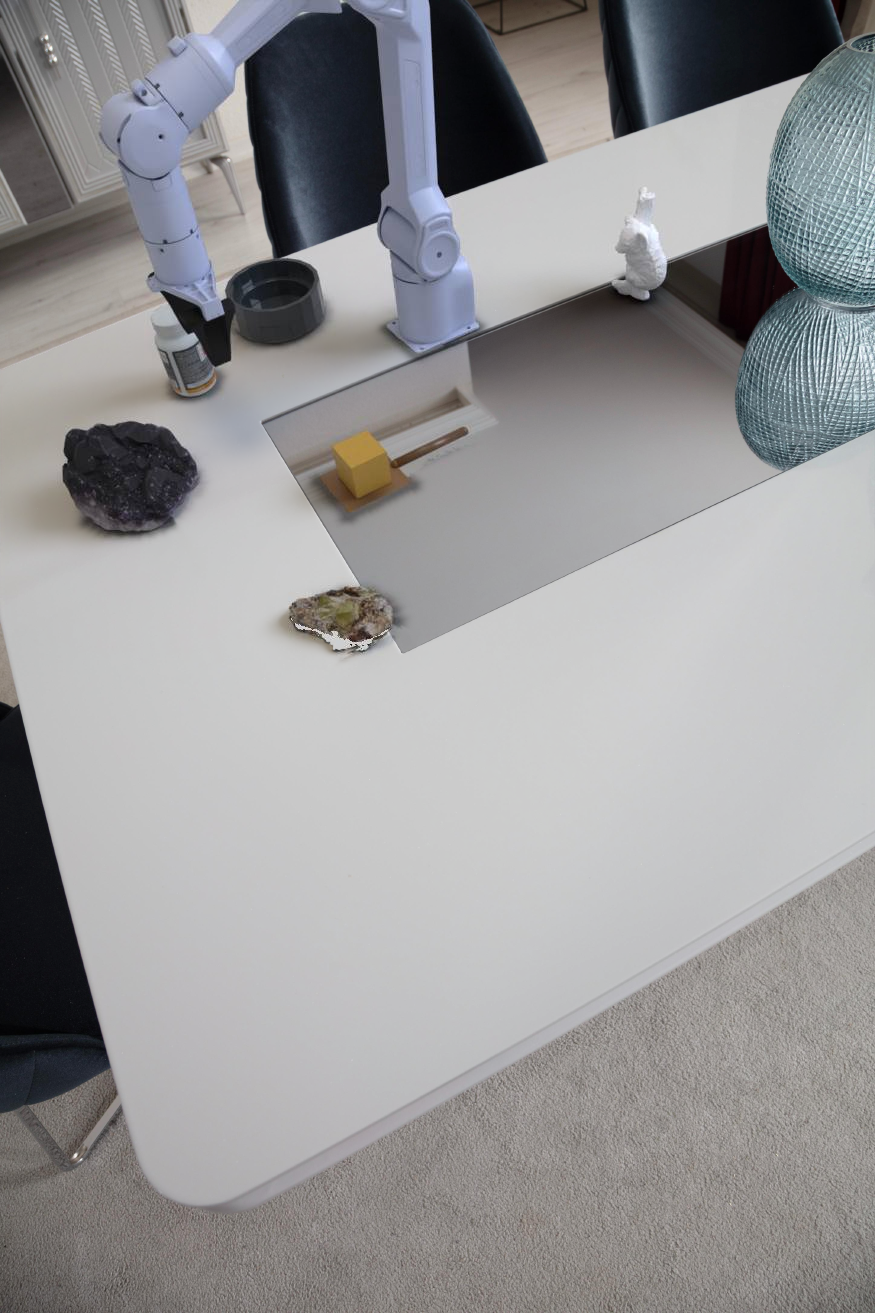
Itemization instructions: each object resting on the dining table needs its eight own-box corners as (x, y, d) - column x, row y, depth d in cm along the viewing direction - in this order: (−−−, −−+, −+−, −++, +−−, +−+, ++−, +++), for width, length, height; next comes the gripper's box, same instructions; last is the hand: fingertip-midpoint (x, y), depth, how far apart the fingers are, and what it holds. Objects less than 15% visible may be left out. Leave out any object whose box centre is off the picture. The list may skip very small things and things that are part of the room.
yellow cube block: (372, 460, 104) (366, 429, 101) (392, 482, 102) (386, 451, 98) (338, 476, 103) (331, 446, 100) (357, 499, 101) (350, 468, 97)
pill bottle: (222, 369, 118) (199, 299, 110) (211, 398, 114) (187, 328, 106) (179, 370, 118) (154, 300, 111) (167, 399, 115) (140, 328, 107)
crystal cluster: (226, 493, 105) (203, 416, 98) (126, 555, 99) (93, 478, 91) (158, 452, 112) (132, 378, 105) (61, 508, 105) (26, 433, 98)
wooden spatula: (451, 418, 108) (450, 409, 107) (484, 450, 105) (484, 441, 104) (319, 481, 104) (317, 473, 103) (349, 516, 100) (347, 508, 99)
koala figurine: (614, 272, 123) (620, 181, 114) (665, 273, 122) (676, 182, 113) (608, 309, 119) (614, 218, 109) (661, 311, 117) (673, 219, 108)
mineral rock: (402, 575, 91) (383, 622, 85) (406, 611, 94) (388, 660, 88) (298, 570, 93) (272, 616, 87) (305, 606, 96) (280, 653, 90)
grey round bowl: (300, 281, 128) (292, 247, 124) (341, 321, 122) (335, 287, 118) (220, 314, 125) (210, 280, 121) (258, 357, 119) (249, 323, 115)
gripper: (108, 214, 96) (151, 329, 107) (159, 274, 88) (200, 392, 99) (171, 191, 98) (207, 306, 108) (226, 248, 90) (259, 366, 101)
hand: (208, 345), depth 104 cm, fingers open, 7 cm apart
